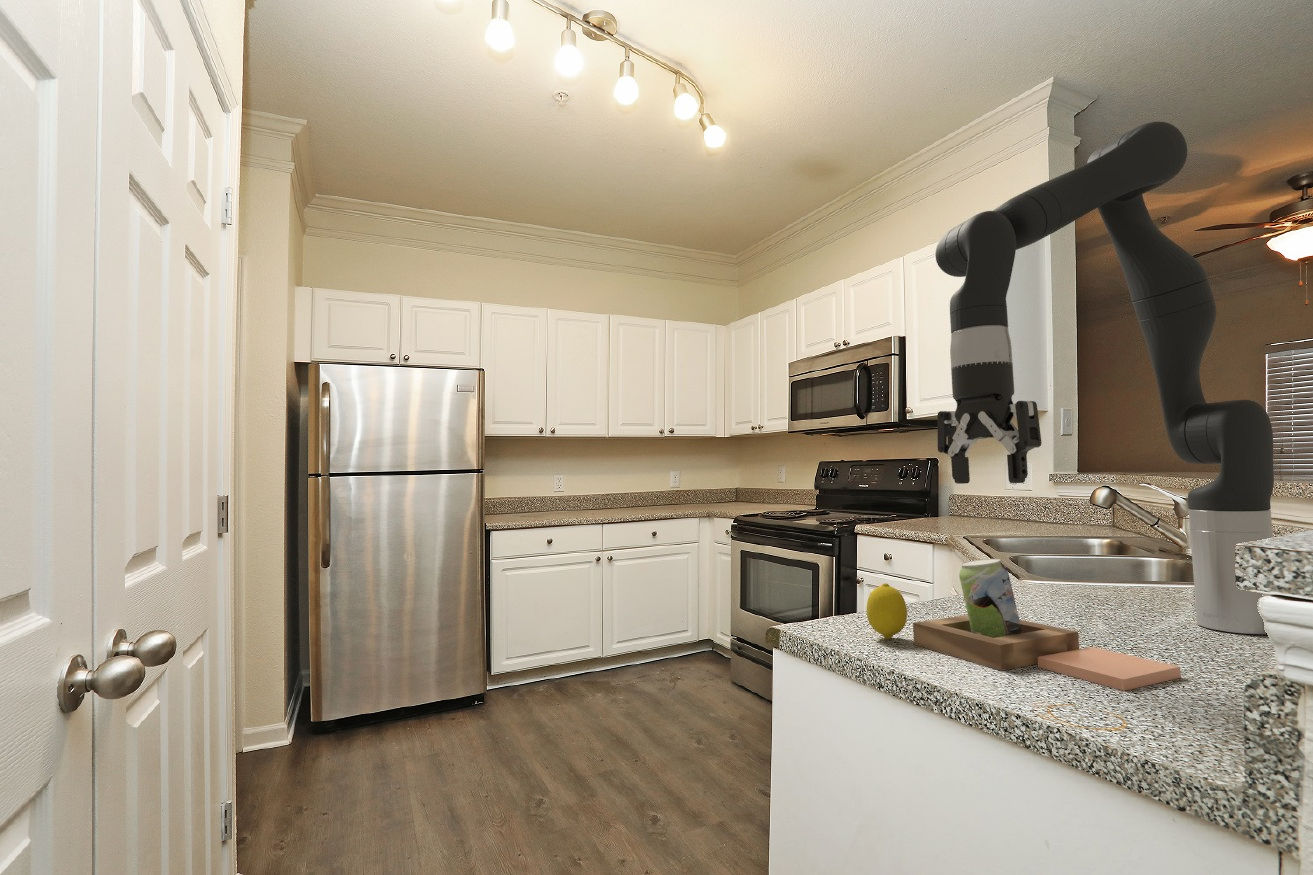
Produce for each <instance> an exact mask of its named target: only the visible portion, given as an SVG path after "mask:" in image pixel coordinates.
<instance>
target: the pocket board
mask: <svg viewBox="0 0 1313 875" xmlns="http://www.w3.org/2000/svg"><path fill="white" fill-rule="evenodd" d="M1019 620H1020V625H1021V629H1022V633H1021V634H1015V635H1009V636H1003V637H997V638H992V637H988V636H984V635H980V634H976V633H972V631H971V627H970V622H969V618H968V614H965V615H958V616H957V615H956V616H950V617H945V618H943V617H942V618H936V619H930V620H922V621H915V622H912V629H913V631H912V633H913V645H914V646H918V647H921V648H924V649H927V650H931V651H934V652H938V653H941V654H944V655H947V656H952V657H955V658H958V659H961V660H965V661H968V662H971V663H975V664H978V665H982V666H985V667H988V668H991V669H995V670H999V671H1001V672H1002V671H1006V670H1011V669H1017V668H1022V667H1028V666H1033V665H1038V657H1040V656H1046V655H1051V654H1056V653H1062V652H1067V651H1072V650H1078V649H1080V641H1079V638H1080V637H1079V631H1077V630H1071V629H1067V628H1061V627H1057V626H1053V625H1047V624H1043V623H1038V622H1034V621H1029V620H1024V619H1020V618H1019Z"/></svg>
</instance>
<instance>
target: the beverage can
mask: <svg viewBox="0 0 1313 875" xmlns="http://www.w3.org/2000/svg"><path fill="white" fill-rule="evenodd" d="M958 577H959V581H960V585H961V586H960V587H961V590H962V594H963V600H964V604H965V609H966V613H967V615H968V618H969V622H970V627H971V631H972V633H976V634H980V635H984V636H988V637H992V638H997V637H1003V636H1009V635H1015V634H1021V633H1022V629H1021V625H1020V620H1021V619H1020V617H1019V612H1018V608H1017V604H1016V600H1015V595H1014V592H1013V587H1012V583H1011V578H1010V574H1009V570H1008V568H1007V567H1006V566H1005V565H1004V564H1003V563H1002V560H1001V559H999V558H984V559H983V558H982V559H976V560H969V561H965V562H962V563H961V568H960V571H959V574H958ZM1019 619H1020V620H1019Z"/></svg>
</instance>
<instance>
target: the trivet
mask: <svg viewBox="0 0 1313 875" xmlns="http://www.w3.org/2000/svg"><path fill="white" fill-rule="evenodd" d="M1037 667H1038V668H1040V669H1044V670H1047V671H1051V672H1055V673H1059V674H1062V675H1065V676H1070V677H1073V678H1077V679H1081V680H1085V681H1088V682H1091V683H1095V684H1097V685H1098V684H1099V685H1102V686H1106V687H1110V688H1113V689H1116V690H1119V691H1120V690H1121V691H1123V692H1125V691H1130V690H1132V689H1133V690H1134V689H1138V688H1142V687H1146V686H1150V685H1154V684H1159V683H1163V682H1167V681H1171V680H1177V679H1181V678H1182V676H1181V674H1182V672H1181V666H1179V665H1173V664H1169V663H1164V662H1162V661H1161V662H1160V661H1155V660H1151V659H1147V658H1143V657H1139V656H1134V655H1130V654H1126V653H1121V652H1117V651H1111V650H1108V649H1104V648H1099V647H1095V646H1090V647H1083V648H1079V649H1078V650H1072V651H1067V652H1062V653H1056V654H1051V655H1046V656H1040V657H1038V664H1037Z"/></svg>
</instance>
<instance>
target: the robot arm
mask: <svg viewBox="0 0 1313 875" xmlns="http://www.w3.org/2000/svg"><path fill="white" fill-rule="evenodd" d="M1187 157H1188V144H1187V141H1186V138H1185V137H1184V135H1183V133H1182V132H1181V130H1180V129H1179V128H1178V127H1177V126H1175V125H1173V124H1171V123H1169V122H1166V121H1151V122H1146V123H1144V124H1141V125H1138V126H1137V127H1134V128H1132V129H1130V130H1129V131H1126V132H1125V133H1123V134H1120V135H1119V136H1117V137H1116V138H1114V139H1113V140H1110V141H1108V142H1107V143H1105V144H1103V145H1102V146H1100V147H1098V148H1097V149H1096V150H1094V151H1093V152H1092V153H1091V154H1090V156H1089V157H1088V159H1087V162H1086V163H1085V164H1083V165H1080V166H1078V167H1076V168H1074V169H1072V170H1069V171H1068V172H1065V173H1062V174H1061V175H1059V176H1055V177H1054V178H1052V179H1049V180H1047V181H1045V182H1042V183H1040V184H1038V185H1036V186H1033V187H1031V188H1030V189H1028V190H1026V191H1023V192H1021V193H1019V194H1018V195H1015V196H1014V197H1012V198H1010V199H1008V200H1007V201H1005V202H1003V203H1002V204H1000V205H999V206H998V207H996V208H995V209H993V210H986V211H982V212H979V213H977V214H975V215H973V216H971V217H970V218H968V219H967V220H965V221H963V222H962V223H960V224H958V225H957V226H954V227H953V228H951V229H950V230H948V231H946V232H945V234H944V235H943V236H942V237H941V238H940V239H939V241H938V243H937V245H936V249H935V261H936V264H937V266H938V267H939V269H940V270H941V271H942V272H944V273H945V274H947V275H949V276H951V277H954V278H955V277H956V278H964V282H963V283H962V285H961V286H960V288H958V289H957V290H956V291H955V292H954V293H953V294H952V296H951V298H950V301H949V319H950V322H949V323H950V345H949V346H950V348H949V349H950V350H949V353H950V354H949V356H950V369H951V370H950V371H951V373H950V374H951V388H952V390H951V391H952V398H953V400H954V401H955V402H956V409H955V411H953V410H952V411H951V410H940V411H938V412H937V416H936V417H937V451H938V452H939V453H940V454H941V453H942V454H945V455H948V456H949V457H950V460H951V462H950V463H951V476H952V480H953V481H954V484H959V485H961V484H962V485H963V484H969V483H970V481H971V479H970V478H971V477H970V462H969V456H967V454H968V453H969V451H970V449H971V448H972V446H973V445H975V444H976V443H977V442H978V440H979V439H980V440H983V439H987V438H988V439H989V438H995V440H996V441H998V442H999V443H1001V444H1002V445H1003V447H1004V448H1005V449H1006V451H1007V452H1008V453H1009V454H1007V455H1006V456H1007V457H1006V460H1007V474H1008V475H1007V476H1008V482H1009V483H1010V484H1024V483H1025V481H1026V479H1027V478H1028V476H1029V475H1028V474H1029V472H1028V456H1027V455H1028V452H1029V451H1031V450H1034V449H1035V448H1040V447H1041V446H1042V436H1041V429H1040V428H1041V427H1040V419H1039V411H1038V410H1039V409H1038V404H1037V402H1036V401H1035V400H1018V401H1016V402H1015V403H1014V402H1013V396H1014V395H1015V381H1014V380H1015V378H1014V364H1013V363H1014V362H1013V352H1012V349H1013V348H1012V341H1011V337H1010V332H1009V321H1008V320H1009V318H1008V305H1007V295H1008V291H1009V287H1010V283H1011V279H1012V274H1013V270H1014V269H1013V268H1014V262H1015V258H1016V251H1017V250H1020V249H1023V248H1025V247H1027V246H1030V245H1033V244H1035V243H1036V242H1038V241H1040V240H1042V239H1044V238H1046V237H1048V236H1049V235H1052V234H1054V233H1055V232H1057V231H1059V230H1061V229H1063V228H1065V227H1066V226H1068V225H1070V224H1072V223H1073V222H1075V221H1077V220H1079V219H1080V218H1082V217H1083V216H1085V215H1088V214H1089V213H1090V212H1092V211H1094V210H1095V209H1097V211H1098V213H1099V215H1100V218H1101V220H1102V222H1103V224H1104V226H1105V228H1106V230H1107V232H1108V235H1109V238H1110V240H1111V243H1112V244H1113V247H1114V251H1115V253H1116V255H1117V258H1118V260H1119V265H1120V266H1121V269H1122V272H1123V276H1124V279H1125V281H1126V284H1127V288H1128V292H1129V295H1130V300H1131V303H1132V305H1133V309H1134V311H1135V315H1136V318H1137V321H1138V324H1139V327H1140V329H1141V333H1142V336H1143V337H1144V342H1145V344H1146V347H1147V351H1148V354H1149V358H1150V361H1151V364H1152V368H1153V372H1154V376H1155V379H1156V384H1157V385H1156V386H1157V388H1158V394H1159V398H1160V405H1161V410H1162V415H1163V420H1164V425H1165V426H1164V427H1165V430H1166V433H1167V438H1168V440H1169V443H1170V446H1171V448H1172V450H1173V451H1174V453H1175V454H1176V456H1177V457H1178V458H1179V459H1180V460H1182V461H1184V462H1186V463H1188V464H1193V465H1194V464H1195V465H1207V464H1208V465H1215V464H1219V465H1220V469H1219V474H1218V476H1217V477H1215V478H1214V479H1213V480H1212V481H1211V482H1208V483H1207V484H1205V485H1202V486H1201V485H1200V486H1199V487H1195V488H1193V489H1191V490H1189V492H1188V493H1187V508H1188V519H1189V520H1188V522H1189V532H1190V545H1191V547H1190V548H1191V559H1192V560H1191V562H1192V570H1193V571H1192V574H1193V575H1192V576H1193V586H1194V599H1195V600H1194V601H1195V614H1196V616H1195V617H1196V623H1197V625H1199V626H1201V627H1204V628H1207V629H1211V630H1217V631H1221V632H1228V633H1237V634H1247V635H1248V634H1249V635H1267V634H1266V632H1265V630H1264V622H1263V619H1262V618H1261V616H1260V614H1259V612H1258V609H1257V602H1258V599H1259V598H1260V597H1262V594H1260V593H1256V592H1250V591H1246V590H1240V589H1238V588H1237V587H1236V583H1235V545H1236V544H1237V543H1241V542H1248V541H1257V540H1262V539H1266V538H1270V537H1273V538H1274V533H1273V522H1272V520H1273V519H1272V510H1271V506H1272V505H1271V498H1272V494H1273V491H1274V486H1275V483H1274V482H1275V480H1274V479H1275V475H1274V473H1275V472H1274V433H1273V426H1272V423H1271V422H1272V421H1271V419H1270V416H1269V414H1268V413H1267V411H1266V409H1265V408H1264V407H1263V406H1262V405H1261V404H1260V403H1259V402H1257V401H1254V400H1251V399H1235V400H1234V399H1233V400H1232V399H1231V400H1227V401H1226V400H1225V401H1216V402H1215V401H1214V402H1207V401H1206V398H1205V396H1204V393H1203V388H1202V384H1201V376H1200V375H1201V374H1200V373H1201V372H1200V369H1201V368H1200V367H1201V362H1202V358H1203V355H1204V352H1205V350H1206V347H1207V345H1208V343H1209V341H1210V338H1211V335H1212V333H1213V330H1214V327H1215V324H1216V323H1215V322H1216V317H1217V305H1216V300H1215V298H1214V295H1213V291H1212V289H1211V286H1210V282H1209V279H1208V276H1207V273H1206V270H1205V269H1204V267H1203V265H1202V264H1201V263H1200V262H1199V261H1198V259H1196V258H1195V257H1194V256H1193V255H1192V254H1191V253H1189V252H1188V251H1187V250H1186V249H1184V248H1183V247H1181V246H1180V245H1179V244H1178V243H1176V242H1175V241H1173V240H1172V239H1170V238H1169V237H1168V236H1167V235H1166V234H1164V233H1163V232H1162V231H1161V230H1160V229H1159V228H1158V226H1157V225H1156V224H1155V223H1154V221H1153V219H1152V216H1151V214H1150V212H1149V210H1148V208H1147V206H1146V203H1145V200H1144V197H1143V194H1146V193H1147V192H1150V191H1152V190H1155V189H1157V188H1159V187H1161V186H1163V185H1165V184H1166V183H1168V182H1170V181H1171V180H1172V179H1174V178H1175V177H1176V176H1177V175H1179V174H1180V172H1181V170H1183V168H1184V166H1185V164H1186V162H1187V159H1188V158H1187ZM1014 417H1015V419H1016V423H1017V427H1016V426H1015V424H1014V423H1013V422H1012V420H1013V418H1014ZM957 425H958V426H957Z"/></svg>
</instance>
